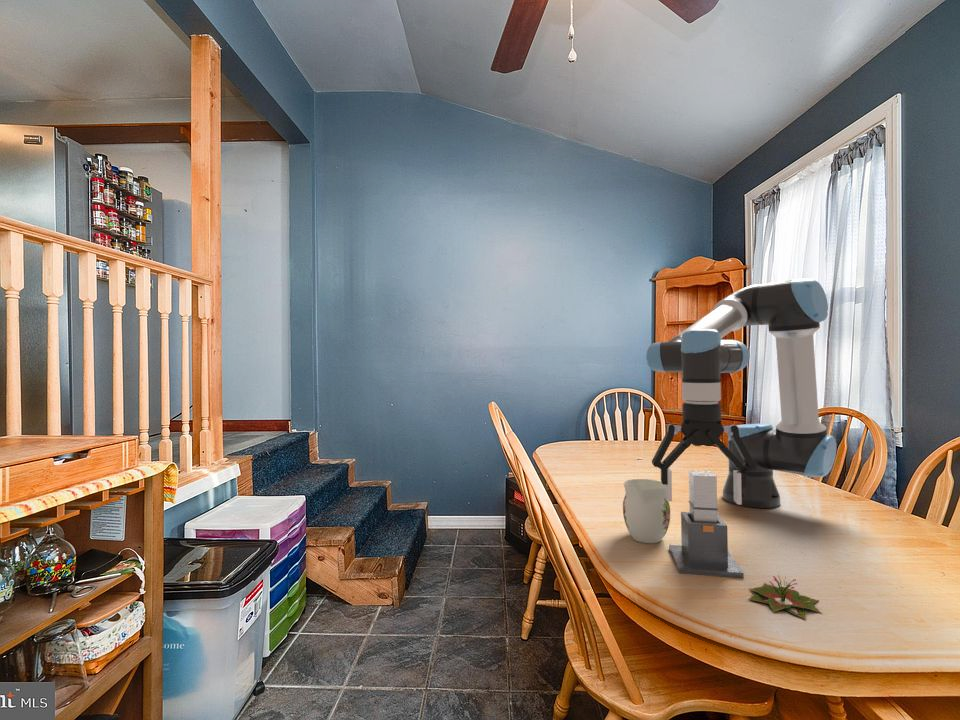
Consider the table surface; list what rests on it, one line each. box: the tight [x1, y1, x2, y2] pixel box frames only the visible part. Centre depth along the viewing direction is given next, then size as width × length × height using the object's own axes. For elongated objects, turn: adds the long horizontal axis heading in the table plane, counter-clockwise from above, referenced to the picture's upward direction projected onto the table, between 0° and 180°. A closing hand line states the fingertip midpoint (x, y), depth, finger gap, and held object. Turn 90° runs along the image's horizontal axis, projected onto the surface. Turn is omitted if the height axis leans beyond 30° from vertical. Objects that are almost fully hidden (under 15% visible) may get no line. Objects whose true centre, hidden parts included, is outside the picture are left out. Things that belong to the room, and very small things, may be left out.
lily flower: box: [748, 574, 822, 621], centre depth 84 cm, size 12×12×5 cm
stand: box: [668, 511, 745, 579], centre depth 100 cm, size 12×12×10 cm
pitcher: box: [622, 478, 671, 544], centre depth 115 cm, size 11×18×14 cm, turn 155°
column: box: [688, 470, 719, 524], centre depth 100 cm, size 5×5×18 cm
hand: (702, 501), depth 100 cm, fingers open, 13 cm apart
